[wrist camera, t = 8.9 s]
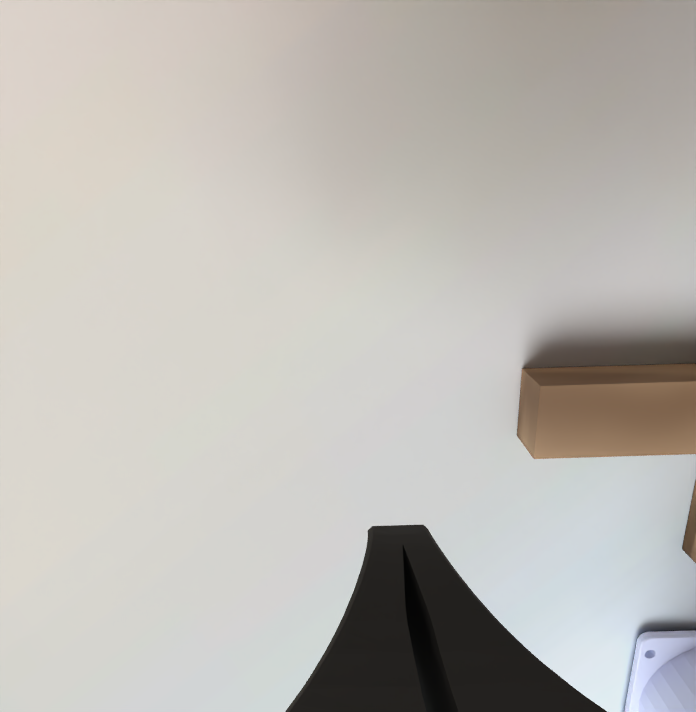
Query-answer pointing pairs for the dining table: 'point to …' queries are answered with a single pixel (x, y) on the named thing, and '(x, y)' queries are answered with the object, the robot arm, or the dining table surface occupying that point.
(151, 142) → the dining table surface
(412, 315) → the dining table surface
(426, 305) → the dining table surface
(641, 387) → the tray
